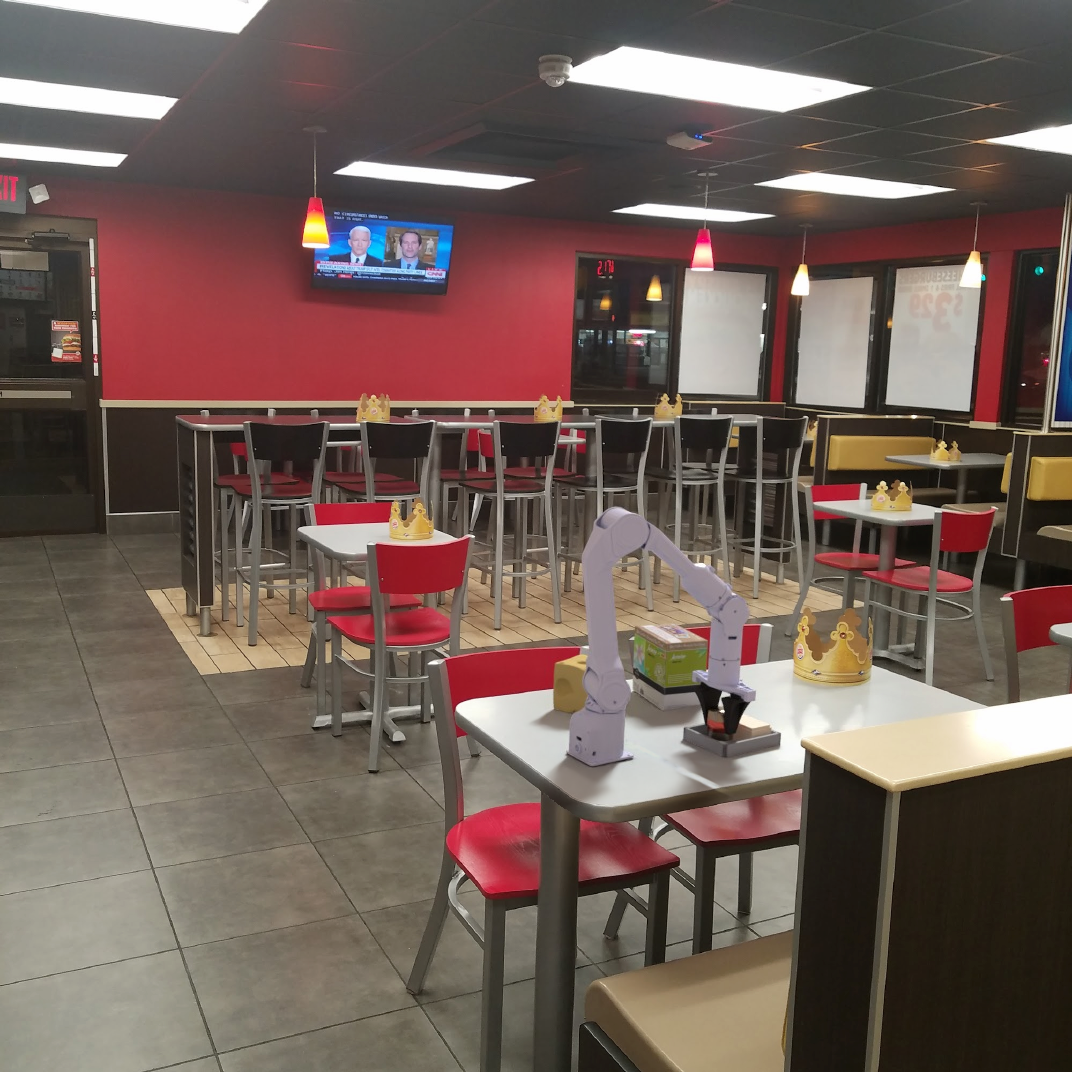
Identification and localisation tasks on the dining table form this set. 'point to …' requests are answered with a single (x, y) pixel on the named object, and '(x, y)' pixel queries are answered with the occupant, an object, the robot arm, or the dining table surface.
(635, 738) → the dining table surface
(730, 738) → the tin
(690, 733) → the tray
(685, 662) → the tea box
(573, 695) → the cheese
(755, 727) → the cream rectangular block
